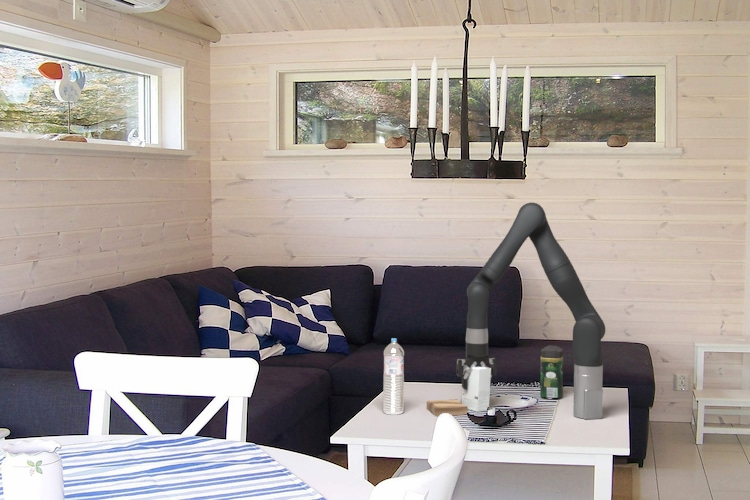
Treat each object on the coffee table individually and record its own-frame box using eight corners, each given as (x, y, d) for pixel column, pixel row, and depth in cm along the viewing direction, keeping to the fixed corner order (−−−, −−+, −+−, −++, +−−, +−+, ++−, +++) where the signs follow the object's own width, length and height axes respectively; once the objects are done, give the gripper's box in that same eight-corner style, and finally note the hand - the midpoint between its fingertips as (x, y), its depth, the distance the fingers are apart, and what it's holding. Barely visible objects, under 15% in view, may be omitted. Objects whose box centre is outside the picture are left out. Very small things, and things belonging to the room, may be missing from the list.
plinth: (467, 414, 311) (467, 405, 311) (435, 416, 309) (435, 407, 309) (457, 407, 322) (457, 398, 322) (426, 408, 320) (426, 400, 319)
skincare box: (461, 407, 321) (461, 365, 320) (474, 405, 325) (474, 363, 324) (478, 412, 315) (478, 368, 314) (491, 410, 318) (491, 366, 317)
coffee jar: (542, 393, 345) (542, 343, 344) (563, 395, 343) (564, 344, 342) (538, 399, 336) (539, 347, 335) (560, 400, 334) (561, 348, 333)
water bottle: (390, 409, 318) (391, 336, 317) (407, 412, 314) (408, 338, 313) (379, 413, 313) (379, 338, 311) (396, 416, 309) (396, 340, 307)
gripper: (460, 343, 313) (459, 392, 314) (500, 342, 316) (500, 390, 317) (453, 340, 321) (453, 387, 321) (493, 338, 324) (492, 386, 325)
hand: (476, 388), depth 319 cm, fingers closed on skincare box, 7 cm apart
